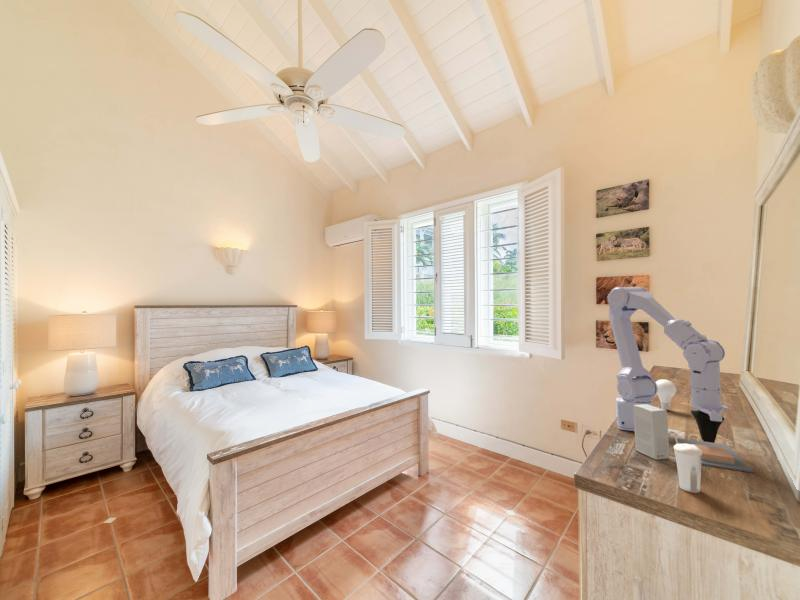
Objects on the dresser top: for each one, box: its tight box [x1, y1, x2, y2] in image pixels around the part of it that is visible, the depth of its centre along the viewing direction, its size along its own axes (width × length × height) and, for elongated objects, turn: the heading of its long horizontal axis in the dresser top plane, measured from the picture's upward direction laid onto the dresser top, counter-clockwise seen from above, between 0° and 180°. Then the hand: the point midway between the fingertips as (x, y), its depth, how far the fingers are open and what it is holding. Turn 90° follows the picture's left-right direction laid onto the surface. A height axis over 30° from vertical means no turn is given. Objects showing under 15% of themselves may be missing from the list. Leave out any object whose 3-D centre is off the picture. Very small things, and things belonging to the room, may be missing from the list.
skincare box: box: [633, 404, 670, 460], centre depth 85 cm, size 6×4×12 cm
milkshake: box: [673, 434, 702, 494], centre depth 69 cm, size 5×5×10 cm
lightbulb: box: [655, 378, 677, 411], centre depth 120 cm, size 6×6×11 cm
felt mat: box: [673, 437, 755, 474], centre depth 84 cm, size 11×16×1 cm
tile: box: [694, 444, 735, 465], centre depth 82 cm, size 6×2×6 cm
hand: (708, 441), depth 85 cm, fingers closed
